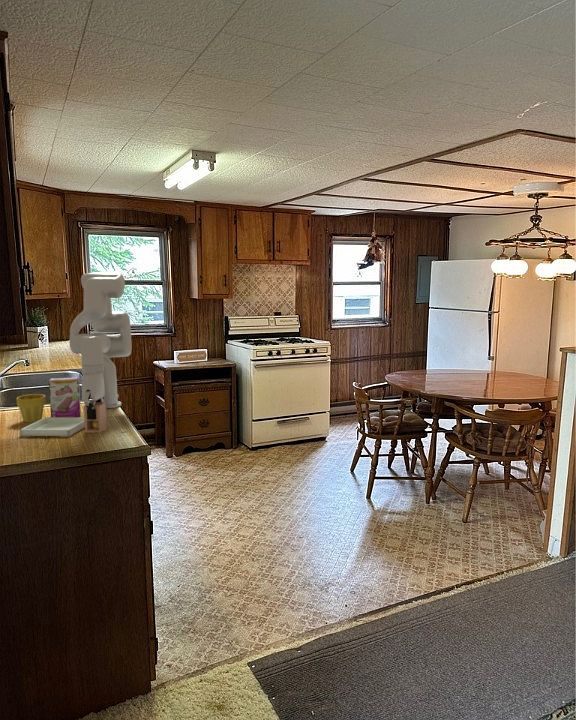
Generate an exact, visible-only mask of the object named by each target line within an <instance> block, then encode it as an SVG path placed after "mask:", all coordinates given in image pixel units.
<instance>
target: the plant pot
mask: <svg viewBox="0 0 576 720" xmlns="http://www.w3.org/2000/svg"><path fill="white" fill-rule="evenodd" d="M46 401H47V399H46V395H45V394H40V393H35V394H34V393H33V394H32V393H31V394H23V395H20V396H17V397H16V405H17V407H18V408H19V411H20V414H21V417H22V421H23V422H25V423H35V422H37V421H39V420H41V419H43V415H44V414H43V413H44V407H45V405H46V403H47V402H46Z"/></svg>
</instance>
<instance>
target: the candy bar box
mask: <svg viewBox="0 0 576 720" xmlns="http://www.w3.org/2000/svg"><path fill="white" fill-rule="evenodd" d="M48 385H49V387H48V388H49V407H50V417H65V418H81V417H80V416H82V409H81V407H82V406H81V387H80V377H57V378H56V377H55V378H49V380H48Z"/></svg>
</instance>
